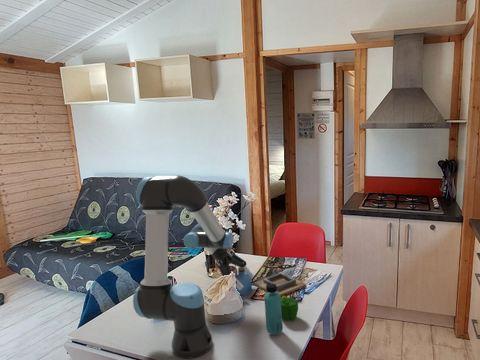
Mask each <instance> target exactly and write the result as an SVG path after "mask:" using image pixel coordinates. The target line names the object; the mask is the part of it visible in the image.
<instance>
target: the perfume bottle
mask: <svg viewBox="0 0 480 360" xmlns="http://www.w3.org/2000/svg"><path fill="white" fill-rule="evenodd" d="M244 269H245V268H244V267H237V275H235V277H236V279H237V280H238V281H239V282H240V283H241V284H242V285H243V286H244V287H243V288H242V289H241V290H239V289H238V288H237V287H236V289H237V291H238V292H239V293H240V294H239V295H240V296H244V297H245V296H247V295H248V294H249V293H251V292H252V290H253V286H252V278H250V276H249V275H248V274H245V270H244Z"/></svg>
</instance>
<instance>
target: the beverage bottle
mask: <svg viewBox="0 0 480 360" xmlns="http://www.w3.org/2000/svg"><path fill="white" fill-rule="evenodd" d="M266 291H267V293H266V292H265V294H264V296H263V299H264V312H265V314H264V315H265V316H264V317H265V329H266V331H267V333H268V334H271V335H279V334H281V333H282V332H283V329H284V326H283V325H284V324H283V323H284V322H283V321H284V320H282V312H281V297H280V294H279V293H277V292H276V291H277V286H276V284H273V283H270V284H267V286H266Z"/></svg>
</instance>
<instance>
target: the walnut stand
mask: <svg viewBox="0 0 480 360" xmlns="http://www.w3.org/2000/svg"><path fill="white" fill-rule="evenodd" d="M270 283H273V284H276V286H277V291H276V292H277V293H279V294H280V296H283V295H284V296H286V295H285V294H287V293H289V294H291V293H290V292H292V291H294V292H296V291H295V290H297V291H299V290H301V289H300V288H302V289H304V288H306V287H307V284H306V283H305V282H303V281H301V280H299V279H296V278H295V277H293V276H291V275H289V274H288V273H285V272H283V271H282V272H281V271H280V272H279V273H276V274H273V275H270V276H266V277H264V278H262V279H260V280H257V281H254V283H253V284H254V286H255V287H256V288H258V289H260V290H261V289H262V290H261V291H263V290H264V291H263V292H265V293H266V292H267V291H266V286H267V284H270ZM303 287H304V288H303ZM298 289H299V290H298ZM292 293H293V292H292ZM287 295H288V294H287Z"/></svg>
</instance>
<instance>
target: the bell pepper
mask: <svg viewBox="0 0 480 360" xmlns="http://www.w3.org/2000/svg"><path fill="white" fill-rule="evenodd" d="M280 300H281V312H282V321H284V322H287V321H292V322H293V321H294V320H296V318H297V316H298V312H299V303H298V300H296V299H294V297H293V296H289V297H287V295H284V296H282V297H280Z"/></svg>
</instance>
